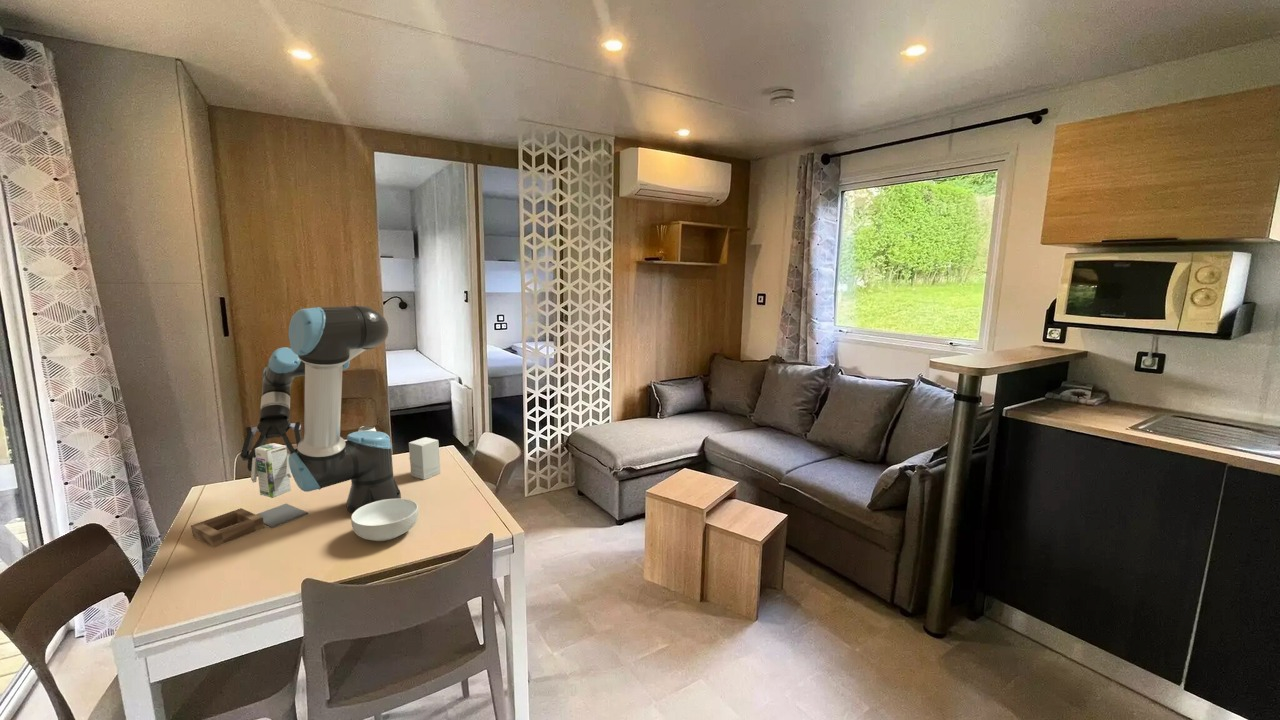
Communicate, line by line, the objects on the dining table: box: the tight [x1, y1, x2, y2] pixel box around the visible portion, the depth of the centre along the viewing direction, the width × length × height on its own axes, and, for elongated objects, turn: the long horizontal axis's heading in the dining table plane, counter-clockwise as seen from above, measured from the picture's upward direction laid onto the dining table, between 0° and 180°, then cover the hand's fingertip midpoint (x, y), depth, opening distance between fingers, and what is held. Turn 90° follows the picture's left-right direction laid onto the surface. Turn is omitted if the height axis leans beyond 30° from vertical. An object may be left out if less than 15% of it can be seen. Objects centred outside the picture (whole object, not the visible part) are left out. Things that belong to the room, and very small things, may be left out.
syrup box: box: [255, 442, 292, 499], centre depth 151 cm, size 6×6×14 cm
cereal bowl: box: [350, 498, 419, 542], centre depth 143 cm, size 17×17×7 cm
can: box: [357, 425, 377, 432], centre depth 201 cm, size 6×6×12 cm
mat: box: [255, 503, 309, 529], centre depth 153 cm, size 12×10×1 cm
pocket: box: [190, 508, 265, 549], centre depth 143 cm, size 12×12×3 cm
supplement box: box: [408, 437, 441, 480], centre depth 184 cm, size 7×7×13 cm
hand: (271, 477), depth 148 cm, fingers closed on syrup box, 8 cm apart
